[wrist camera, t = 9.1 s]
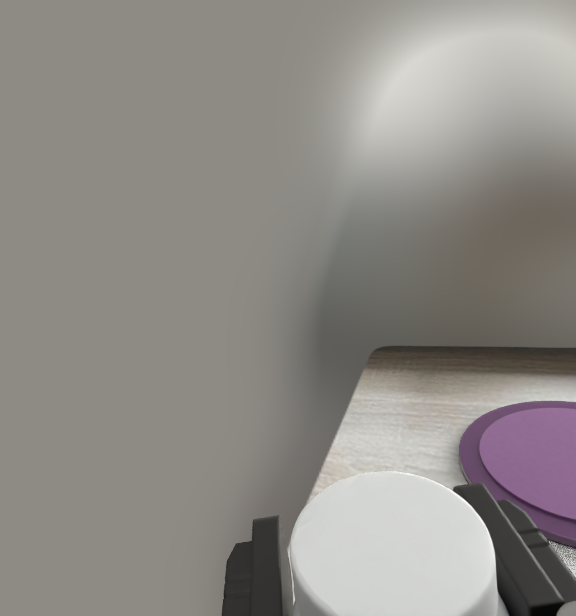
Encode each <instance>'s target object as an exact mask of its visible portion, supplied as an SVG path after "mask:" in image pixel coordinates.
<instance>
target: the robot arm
mask: <svg viewBox="0 0 576 616" xmlns="http://www.w3.org/2000/svg"><path fill="white" fill-rule="evenodd" d="M453 491H454V492H455V493H456V494H458V495H459V496H460V497H462V498H463V499H464V500H465V501H466V502H467V503H468V504H469V505H471V506H472V507H473V509H474V510H475V511H476V513H477V514H478V515H479V516H480V517H481V519H482V521H483V522H484V524H485V526H486V527H487V529H488V532H489V534H490V537H491V539H492V543H493V547H494V551H495V561H496V578H497V591H498V593H499V595H500V597H501V599H502V600H503V602H504V604H505V606H506V609H507V611H508V614H509V616H576V578H575V576H574V575H573V574H572V572H571V571H570V570H569V568H568V567H567V566H566V564H565V563H564V562H563V560H562V559H561V558H560V556H559V555H558V554H557V552H556V551H555V550H554V548H553V547H552V546H550V545H549V542H548V540H547V539H546V538H545V536H544V535H543V534H542V532H539V529H538V527H537V526H536V525H535V523H534V522H533V521H532V519H531V518H530V517H529V515H528V514H527V513H526V512H525V511H524V510H523V509H521V508H520V507H518V506H517V505H515V504H514V503H513V502H511V501H510V500H508V499H505V500H499V501H496V500H495V499H494V498H493V496H492V495H491V493H490V492H489V490H488V489H487V487H486V486H485V485H484V484H483V483H482V482H479V483H473V484H467V485H461V486H455V487H454V488H453ZM225 582H226V583H225V587H224V599H223V607H222V616H292V612H293V592H292V579H291V570H290V563H289V557H288V552H287V547H286V543H285V538H284V533H283V528H282V523H281V518H280V516H279V515H277V516H272V517H266V518H259V519H254V520H253V529H252V541H249V542H243V543H237V544H236V545H235V547H234V549H233V551H232V552H231V554H230V556H229V558H228V560H227V566H226V576H225Z"/></svg>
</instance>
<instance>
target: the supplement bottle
mask: <svg viewBox="0 0 576 616" xmlns="http://www.w3.org/2000/svg"><path fill="white" fill-rule="evenodd" d="M290 559H291V566H292V573H293V580H294V594H295V603H294V607H293V612H292V616H509V614H508V611H507V609H506V606H505V604H504V602H503V600H502V599H501V597H500V595H499V593H498V591H497V578H496V561H495V551H494V547H493V543H492V539H491V537H490V534H489V532H488V529H487V527H486V526H485V524H484V522H483V521H482V519H481V517H480V516H479V515H478V514H477V513H476V511H475V510H474V509H473V507H472V506H471V505H469V504H468V503H467V502H466V501H465V500H464V499H463V498H462V497H460V496H459V495H458V494H456V493H455V492H454V491H452V490H451V489H449V488H447V487H445V486H443V485H441V484H439V483H437V482H435V481H433V480H430V479H427V478H424V477H421V476H417V475H413V474H408V473H402V472H393V471H380V472H368V473H362V474H358V475H354V476H351V477H348V478H345V479H342V480H340V481H337V482H335V483H333V484H331V485H330V486H328V487H327V488H325V489H324V490H322V491H321V492H320V493H318V494H317V495H316V496H315V497H314V498H313V499H312V500H311V501H310V502H309V503H308V504H307V505H306V506H305V508H304V509H303V510H302V512H301V514H300V515H299V517H298V519H297V521H296V524H295V526H294V529H293V532H292V537H291V542H290Z"/></svg>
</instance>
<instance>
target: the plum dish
mask: <svg viewBox="0 0 576 616" xmlns="http://www.w3.org/2000/svg"><path fill="white" fill-rule="evenodd" d="M459 459H460V465H461V469H462V472H463V474H464V476H465V478H466V480H467V481H468V483H469V484H473V483H479V482H482V483H483V484H484V485H485V486H486V487H487V489H488V490H489V492H490V493H491V495H492V496H493V498H494V499H495V500H496V501H499V500H505V499H508V500H510V501H511V502H513V503H514V504H515V505H517V506H518V507H520V508H521V509H523V510H524V511H525V512H526V513H527V514H528V515H529V517H530V518H531V519H532V521H533V522H534V523H535V525H536V526H537V527H538V529H539V532H542V534H543V535H544V536H545V538H547V539H550V540H552V541H555V542H558V543H561V544H565V545H568V546H572V547H575V548H576V402H565V401H533V402H524V403H518V404H513V405H508V406H505V407H501V408H498V409H495V410H493V411H490V412H488V413H486V414H484V415H482V416H481V417H479V418H478V419H476V420H475V421H474V422H473V423H472V424H471V425H470V426H469V427H468V428H467V429H466V431H465V432H464V434H463V436H462V438H461V441H460V446H459Z"/></svg>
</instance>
